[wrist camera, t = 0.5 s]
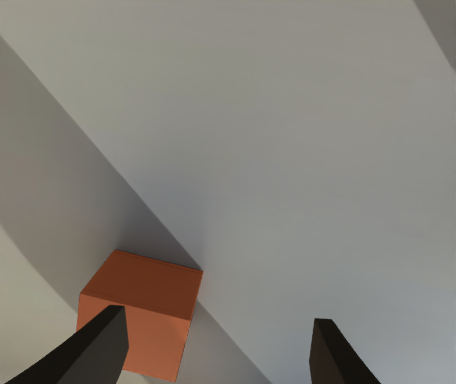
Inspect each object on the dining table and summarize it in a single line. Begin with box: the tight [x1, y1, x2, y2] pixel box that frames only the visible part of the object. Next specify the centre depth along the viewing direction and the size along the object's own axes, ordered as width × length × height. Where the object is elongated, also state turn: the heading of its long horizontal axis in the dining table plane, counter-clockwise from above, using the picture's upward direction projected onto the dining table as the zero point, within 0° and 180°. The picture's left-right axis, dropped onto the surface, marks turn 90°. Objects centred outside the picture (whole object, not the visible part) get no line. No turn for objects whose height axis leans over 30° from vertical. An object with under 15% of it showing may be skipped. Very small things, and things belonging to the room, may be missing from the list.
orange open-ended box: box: [76, 250, 203, 382], centre depth 22 cm, size 6×5×5 cm
